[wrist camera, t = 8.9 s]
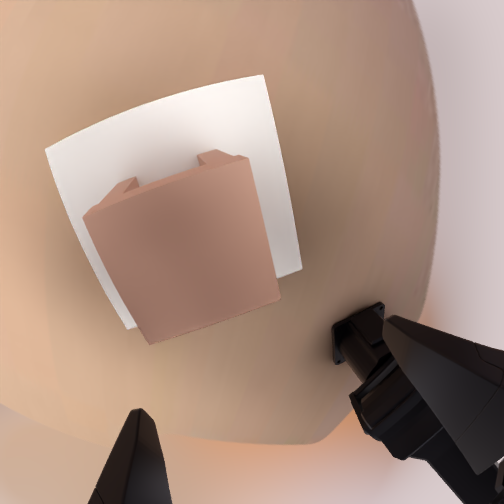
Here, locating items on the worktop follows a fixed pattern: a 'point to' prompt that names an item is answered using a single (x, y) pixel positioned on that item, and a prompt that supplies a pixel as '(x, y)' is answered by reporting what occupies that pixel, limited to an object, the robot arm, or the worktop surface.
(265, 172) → the white board
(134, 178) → the stool
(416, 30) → the worktop surface
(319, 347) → the worktop surface
